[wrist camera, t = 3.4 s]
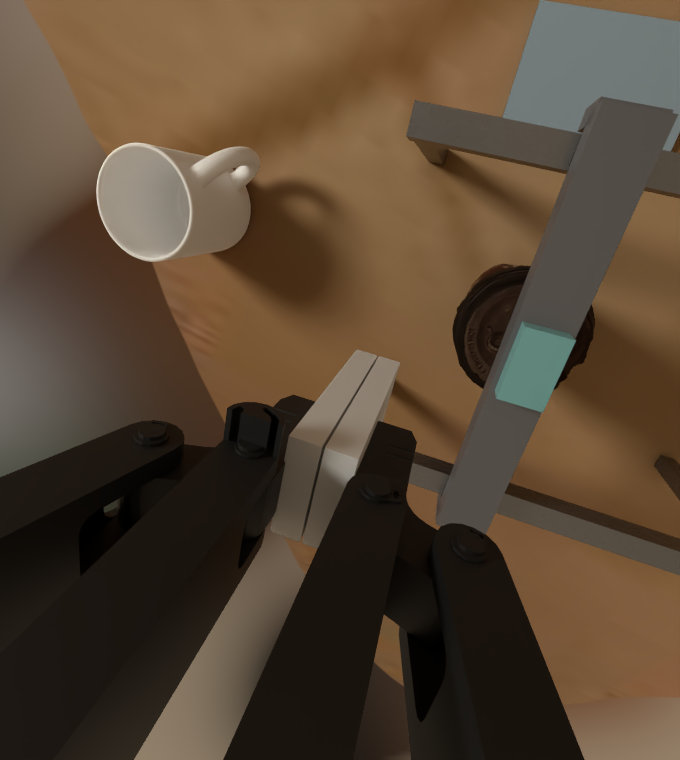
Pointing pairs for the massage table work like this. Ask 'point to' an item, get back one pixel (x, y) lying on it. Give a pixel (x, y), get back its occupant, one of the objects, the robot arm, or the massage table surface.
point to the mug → (175, 200)
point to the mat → (594, 65)
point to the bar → (555, 299)
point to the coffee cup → (500, 322)
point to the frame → (555, 152)
